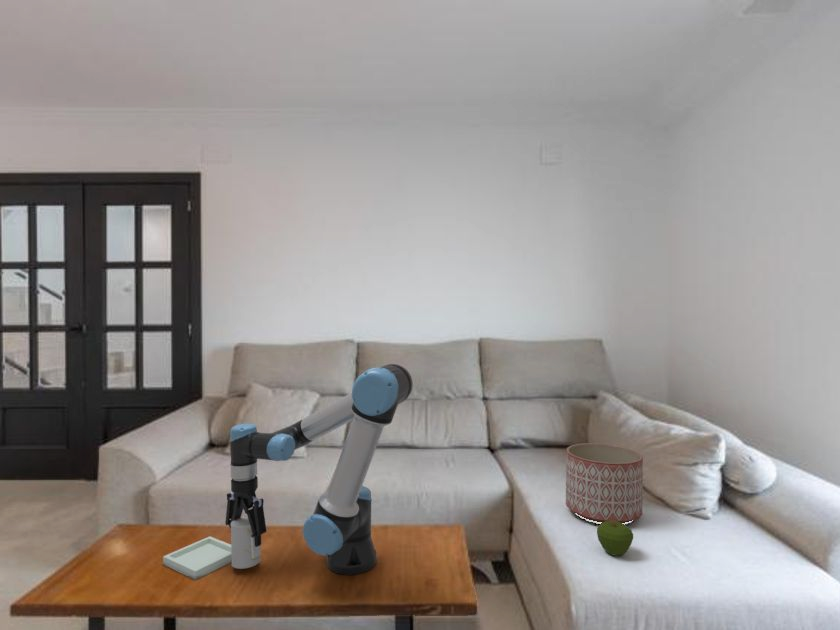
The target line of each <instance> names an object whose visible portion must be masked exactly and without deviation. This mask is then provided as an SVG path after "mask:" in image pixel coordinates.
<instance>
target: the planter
mask: <svg viewBox="0 0 840 630" xmlns="http://www.w3.org/2000/svg"><path fill="white" fill-rule="evenodd" d="M565 457H566V459H565V460H566V462H565V464H566V465H565V506H566V507H567V508H568V510H570V511H572V512H573V513H574V512H575V513H577V514H578V515H580V516H582V517H584V518H586V519H589V520H593V521H597V522H602V523H603V522H605V521H617V522H620V523H625V522H629V521H632V520H634V521H636V520H639V518H640V517H642V515H643V492H644V491H643V486H644V483H643V481H644V480H643V479H644V478H643V476H644V475H643V474H644V456H643V455H642V454H641V452H638V451H636V450H634V449H632V448H628V447H625V446H621V445H615V444H608V443H599V442H598V443H597V442H596V443H594V442H590V443H589V442H586V443H576V444H572V445H570V446H568V447H566V455H565Z"/></svg>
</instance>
